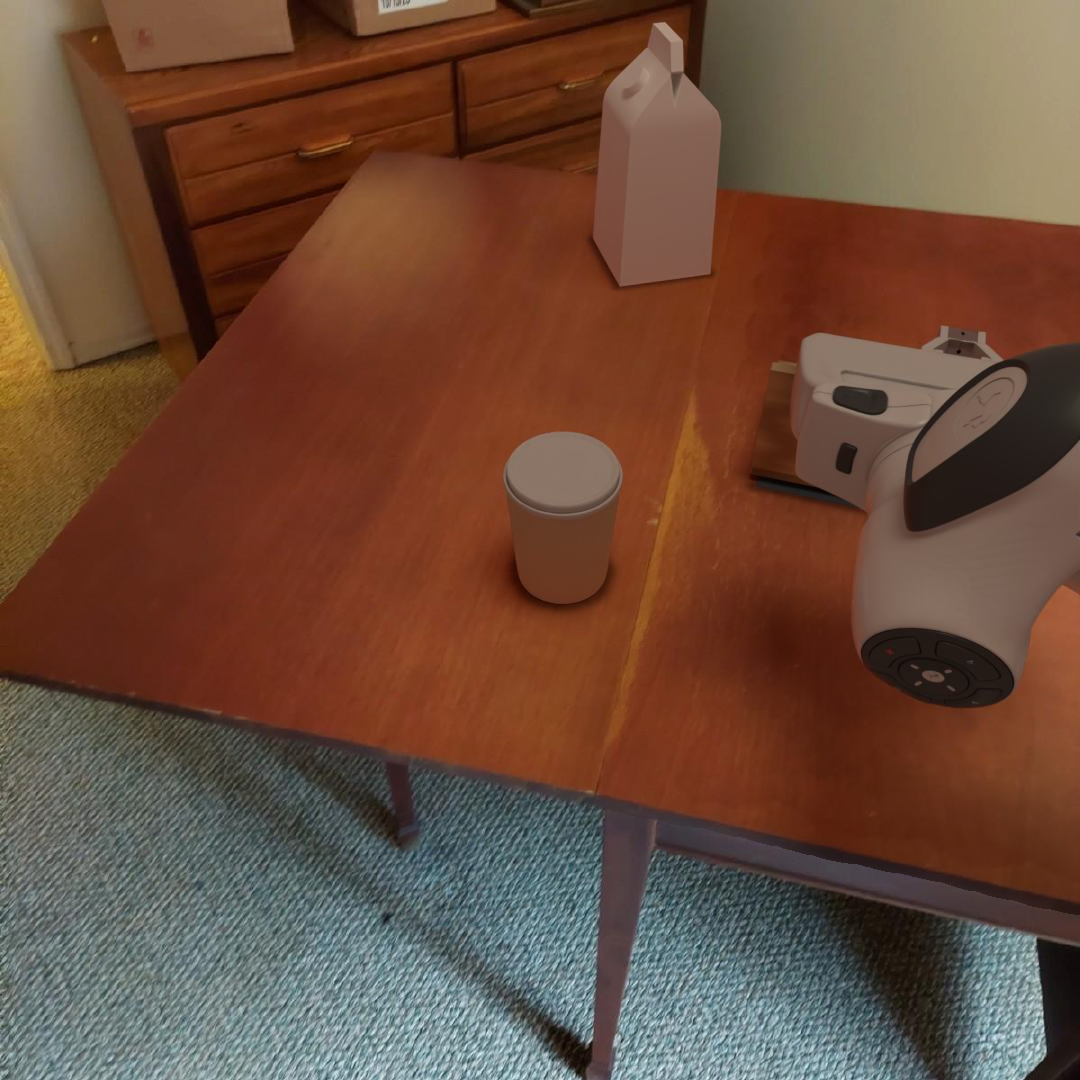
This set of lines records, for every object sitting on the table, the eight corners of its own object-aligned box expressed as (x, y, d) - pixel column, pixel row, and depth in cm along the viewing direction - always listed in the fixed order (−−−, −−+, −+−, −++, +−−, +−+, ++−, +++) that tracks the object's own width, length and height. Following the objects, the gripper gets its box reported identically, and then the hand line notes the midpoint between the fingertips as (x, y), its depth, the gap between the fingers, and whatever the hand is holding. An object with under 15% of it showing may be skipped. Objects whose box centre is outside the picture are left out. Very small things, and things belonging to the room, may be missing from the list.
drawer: (993, 433, 95) (1040, 324, 86) (993, 529, 86) (1046, 418, 76) (771, 393, 100) (793, 285, 91) (748, 479, 91) (770, 369, 81)
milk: (710, 274, 116) (740, 46, 98) (619, 286, 114) (632, 57, 96) (678, 227, 124) (699, 8, 106) (592, 238, 123) (599, 18, 104)
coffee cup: (638, 568, 83) (647, 464, 74) (566, 630, 78) (567, 527, 69) (558, 517, 87) (558, 413, 79) (486, 573, 83) (477, 469, 74)
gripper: (1169, 461, 51) (1147, 322, 60) (785, 391, 56) (818, 273, 65) (1120, 543, 56) (1107, 402, 65) (769, 471, 61) (802, 350, 70)
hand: (959, 337), depth 65 cm, fingers closed
